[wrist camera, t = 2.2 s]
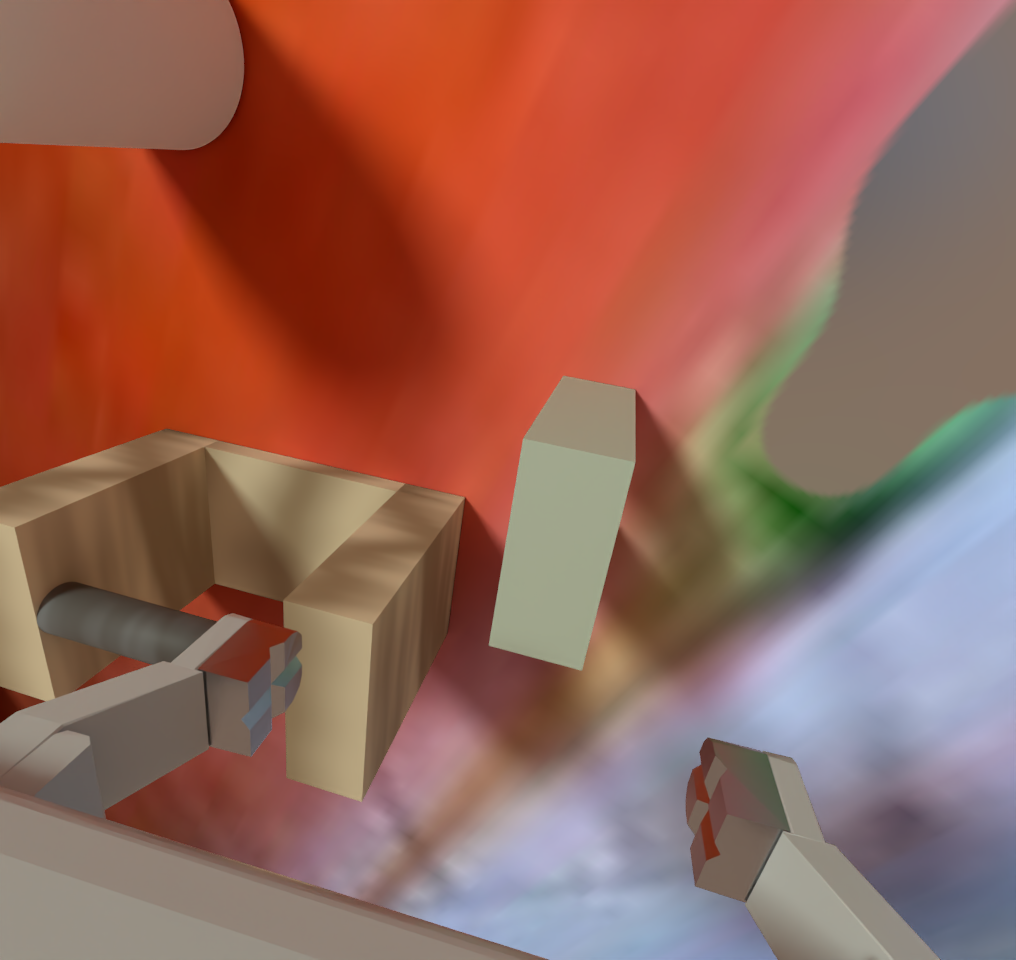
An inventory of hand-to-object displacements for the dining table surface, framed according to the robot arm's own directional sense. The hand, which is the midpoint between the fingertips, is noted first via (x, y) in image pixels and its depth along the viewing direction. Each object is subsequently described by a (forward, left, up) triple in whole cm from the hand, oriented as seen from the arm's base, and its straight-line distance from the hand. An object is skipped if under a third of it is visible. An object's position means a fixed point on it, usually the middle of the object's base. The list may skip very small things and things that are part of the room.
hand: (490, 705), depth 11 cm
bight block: (-1, 0, -15) cm, 15 cm away
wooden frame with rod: (+12, +7, -15) cm, 20 cm away
